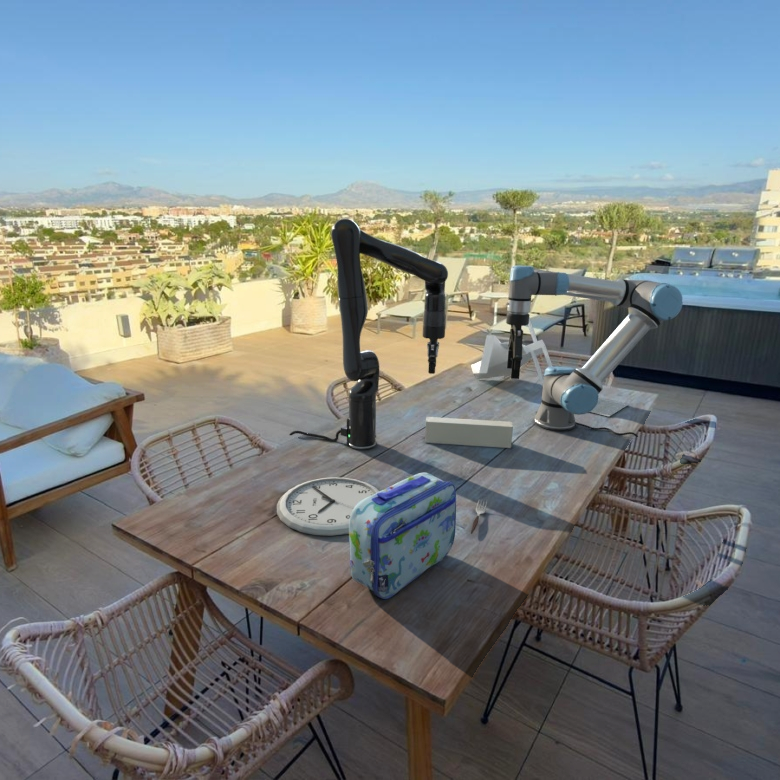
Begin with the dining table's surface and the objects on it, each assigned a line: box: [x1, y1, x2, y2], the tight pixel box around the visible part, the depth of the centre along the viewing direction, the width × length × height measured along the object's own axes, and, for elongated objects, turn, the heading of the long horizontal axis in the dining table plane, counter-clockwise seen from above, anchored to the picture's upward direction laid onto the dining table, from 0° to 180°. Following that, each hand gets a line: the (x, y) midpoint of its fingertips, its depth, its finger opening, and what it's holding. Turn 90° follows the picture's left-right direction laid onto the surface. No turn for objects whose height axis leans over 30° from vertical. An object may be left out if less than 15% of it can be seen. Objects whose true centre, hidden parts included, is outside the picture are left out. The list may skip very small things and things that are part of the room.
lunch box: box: [348, 471, 457, 600], centre depth 113 cm, size 26×11×21 cm, turn 134°
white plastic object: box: [470, 316, 554, 388], centre depth 255 cm, size 37×45×31 cm
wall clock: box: [276, 476, 381, 537], centre depth 142 cm, size 30×2×30 cm
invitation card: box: [589, 397, 629, 418], centre depth 226 cm, size 21×1×15 cm
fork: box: [470, 498, 488, 535], centre depth 136 cm, size 3×16×2 cm, turn 160°
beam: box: [424, 416, 514, 449], centre depth 185 cm, size 30×5×8 cm, turn 83°
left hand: (432, 370), depth 180 cm, fingers open, 8 cm apart
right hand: (512, 373), depth 183 cm, fingers open, 13 cm apart
